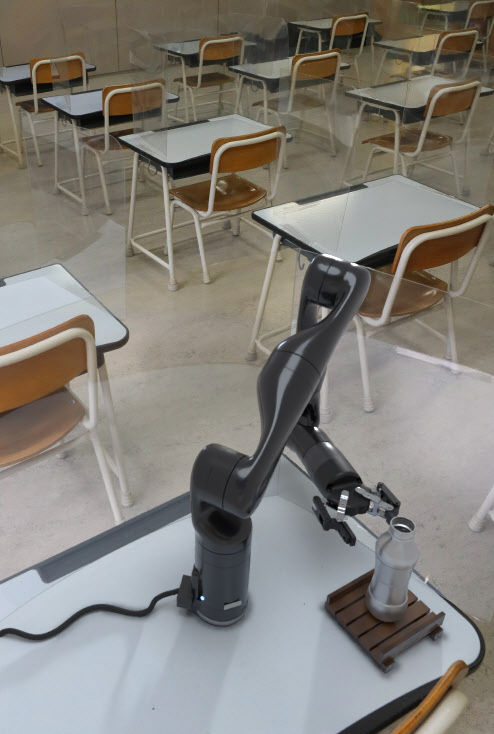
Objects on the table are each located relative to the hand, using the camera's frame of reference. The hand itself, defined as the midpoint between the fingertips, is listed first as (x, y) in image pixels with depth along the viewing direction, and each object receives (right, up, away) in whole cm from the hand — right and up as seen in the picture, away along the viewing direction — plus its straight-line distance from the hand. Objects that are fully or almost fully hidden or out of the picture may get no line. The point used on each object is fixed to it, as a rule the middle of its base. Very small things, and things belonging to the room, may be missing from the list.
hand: (377, 537), depth 113 cm
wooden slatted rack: (+2, -15, +3) cm, 15 cm away
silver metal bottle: (+2, -13, +2) cm, 13 cm away
